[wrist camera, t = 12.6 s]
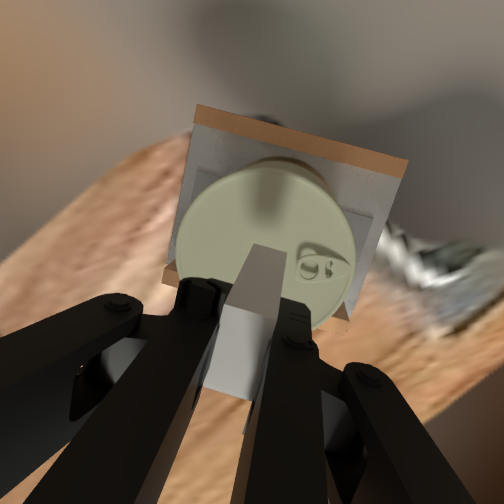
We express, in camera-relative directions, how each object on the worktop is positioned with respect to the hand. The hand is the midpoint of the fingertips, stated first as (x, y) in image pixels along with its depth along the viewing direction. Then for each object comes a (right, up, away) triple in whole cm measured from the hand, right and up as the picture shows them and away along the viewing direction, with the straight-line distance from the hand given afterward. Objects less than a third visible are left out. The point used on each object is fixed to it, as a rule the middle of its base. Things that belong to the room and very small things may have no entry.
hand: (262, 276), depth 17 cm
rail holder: (+2, +4, +15) cm, 15 cm away
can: (+1, +4, +14) cm, 14 cm away
